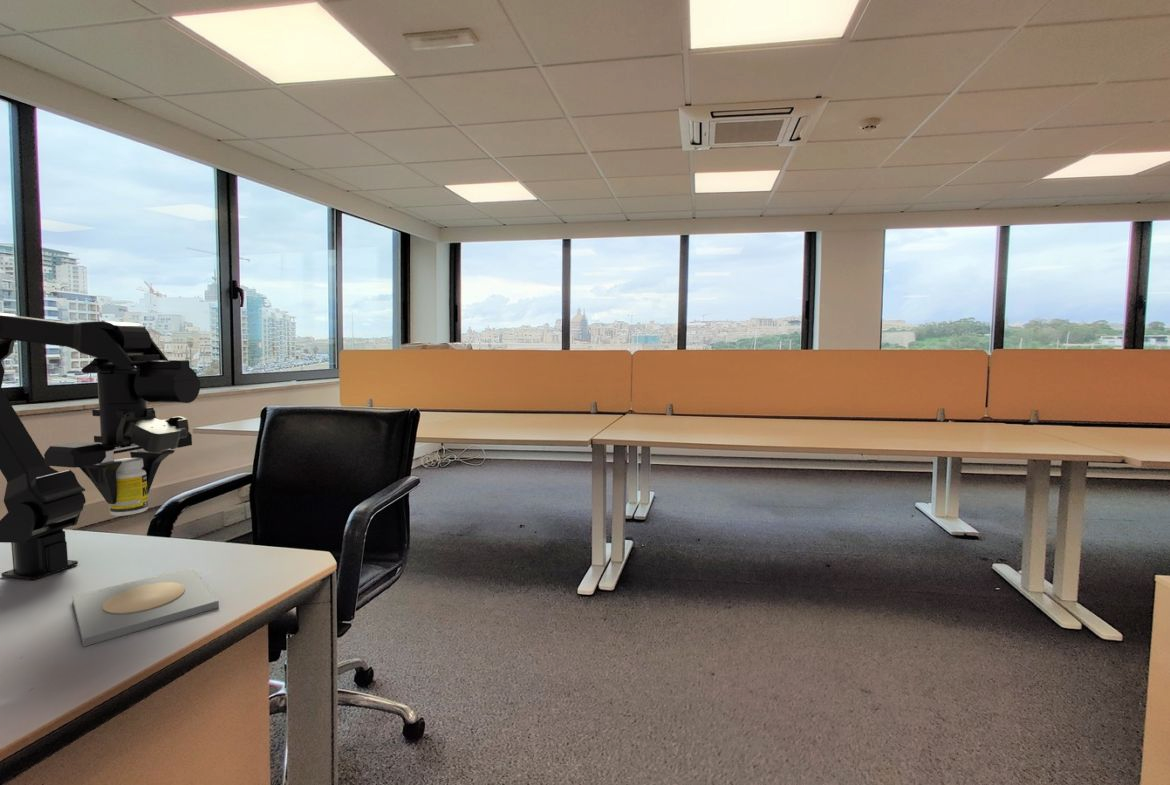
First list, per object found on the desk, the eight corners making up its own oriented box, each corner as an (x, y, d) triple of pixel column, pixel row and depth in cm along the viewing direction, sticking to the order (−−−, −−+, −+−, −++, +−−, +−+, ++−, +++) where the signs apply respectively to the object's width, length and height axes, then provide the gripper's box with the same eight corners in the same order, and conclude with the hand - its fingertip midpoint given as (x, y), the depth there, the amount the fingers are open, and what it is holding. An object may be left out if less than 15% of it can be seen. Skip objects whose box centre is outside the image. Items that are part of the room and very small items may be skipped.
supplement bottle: (150, 511, 86) (148, 460, 85) (111, 518, 83) (108, 464, 82) (145, 505, 89) (142, 455, 88) (107, 511, 86) (104, 459, 85)
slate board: (72, 602, 76) (72, 593, 76) (192, 573, 86) (192, 565, 86) (83, 646, 65) (82, 636, 65) (218, 607, 76) (218, 598, 75)
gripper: (103, 410, 74) (109, 521, 75) (217, 398, 92) (221, 487, 93) (37, 407, 76) (45, 515, 77) (162, 396, 94) (166, 483, 95)
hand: (128, 499), depth 86 cm, fingers closed on supplement bottle, 5 cm apart
